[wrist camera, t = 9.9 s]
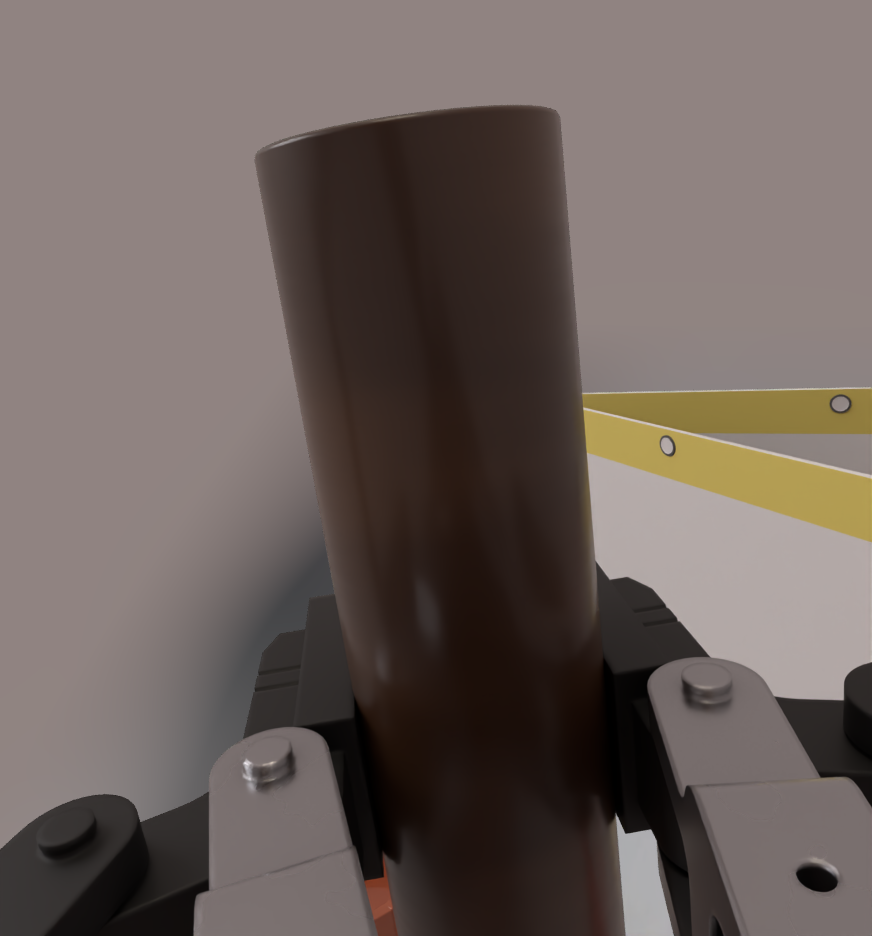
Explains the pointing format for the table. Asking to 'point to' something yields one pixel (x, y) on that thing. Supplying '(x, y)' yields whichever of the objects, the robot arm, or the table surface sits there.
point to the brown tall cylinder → (456, 505)
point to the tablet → (744, 521)
